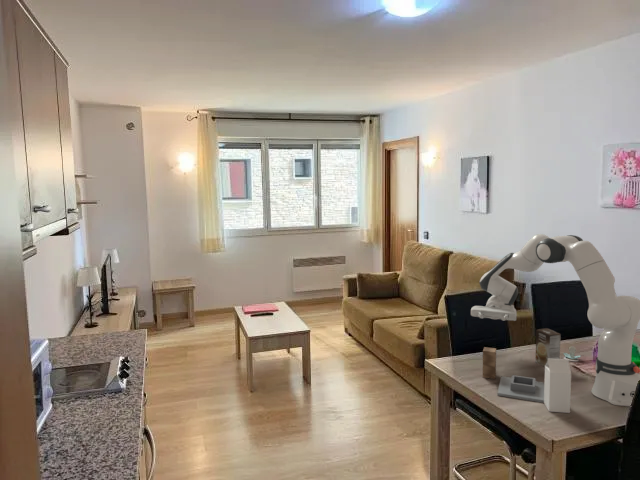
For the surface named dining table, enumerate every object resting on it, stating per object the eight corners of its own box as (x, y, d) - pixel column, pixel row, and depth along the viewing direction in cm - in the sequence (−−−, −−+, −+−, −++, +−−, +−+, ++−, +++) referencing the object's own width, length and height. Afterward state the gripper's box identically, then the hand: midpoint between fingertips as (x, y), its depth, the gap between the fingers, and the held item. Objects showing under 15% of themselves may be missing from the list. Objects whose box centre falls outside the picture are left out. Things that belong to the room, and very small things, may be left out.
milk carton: (570, 413, 170) (571, 363, 168) (549, 411, 172) (550, 362, 169) (564, 404, 177) (565, 356, 175) (543, 403, 178) (545, 355, 176)
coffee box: (534, 362, 220) (535, 329, 218) (546, 360, 221) (547, 327, 219) (548, 369, 211) (549, 334, 209) (560, 367, 212) (561, 333, 210)
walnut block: (495, 374, 206) (496, 348, 205) (494, 379, 202) (495, 352, 201) (483, 373, 209) (484, 347, 207) (482, 377, 204) (482, 350, 203)
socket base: (547, 385, 194) (547, 375, 194) (547, 403, 178) (547, 393, 178) (501, 378, 202) (501, 369, 202) (497, 395, 186) (497, 385, 186)
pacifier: (578, 363, 217) (581, 359, 222) (578, 350, 216) (581, 346, 221) (561, 360, 222) (564, 356, 227) (561, 347, 221) (564, 343, 226)
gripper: (472, 301, 230) (468, 308, 217) (517, 305, 221) (516, 313, 209) (471, 313, 230) (468, 321, 218) (516, 318, 222) (515, 327, 210)
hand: (492, 317), depth 213 cm, fingers open, 8 cm apart
